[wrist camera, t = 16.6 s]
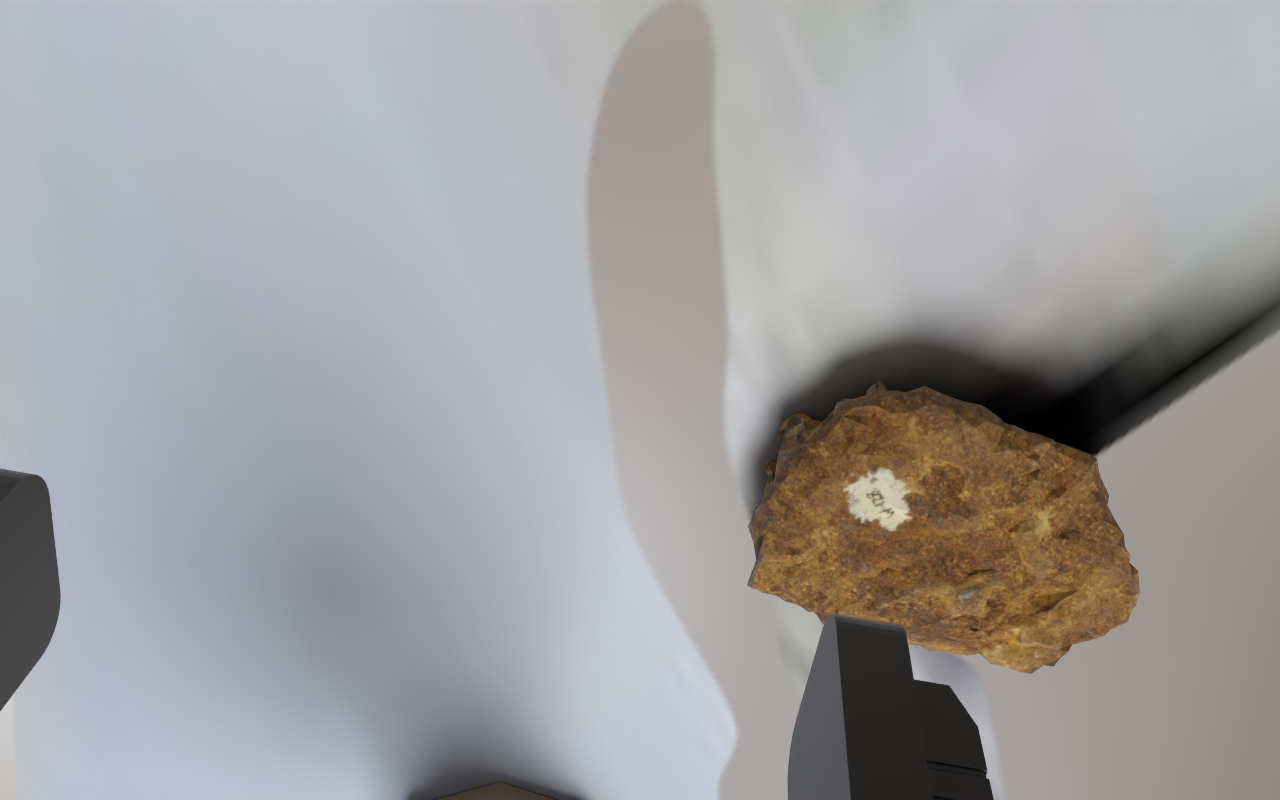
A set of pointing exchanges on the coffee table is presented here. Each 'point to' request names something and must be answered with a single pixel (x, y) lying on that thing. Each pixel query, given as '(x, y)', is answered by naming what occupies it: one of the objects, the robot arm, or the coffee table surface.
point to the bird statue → (496, 793)
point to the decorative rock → (943, 529)
